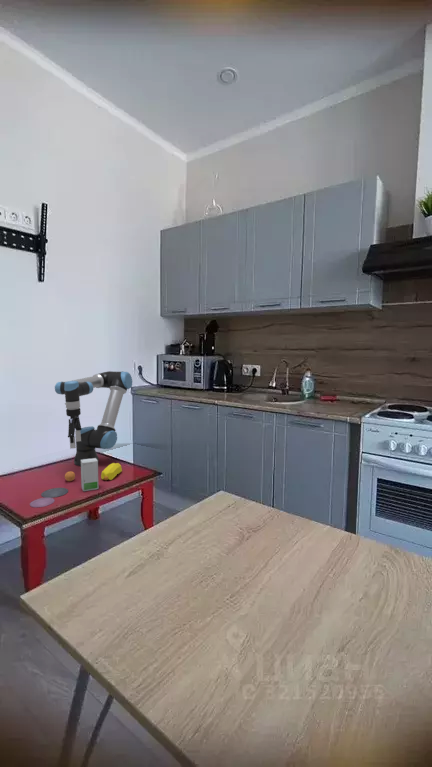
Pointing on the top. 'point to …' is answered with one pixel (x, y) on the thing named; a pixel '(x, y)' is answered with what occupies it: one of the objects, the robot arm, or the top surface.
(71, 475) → the ball
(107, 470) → the yellow elongated piece
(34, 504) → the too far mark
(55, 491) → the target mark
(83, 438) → the robot arm
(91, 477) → the skincare box
